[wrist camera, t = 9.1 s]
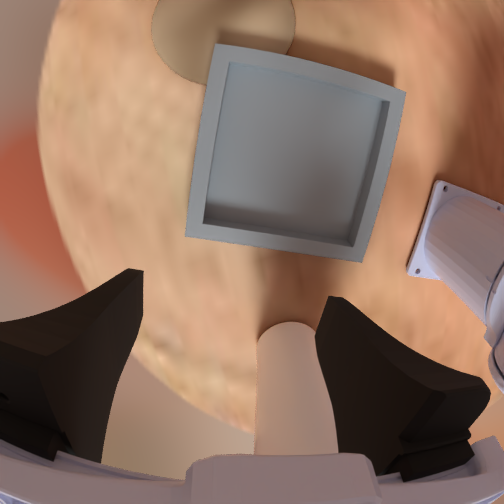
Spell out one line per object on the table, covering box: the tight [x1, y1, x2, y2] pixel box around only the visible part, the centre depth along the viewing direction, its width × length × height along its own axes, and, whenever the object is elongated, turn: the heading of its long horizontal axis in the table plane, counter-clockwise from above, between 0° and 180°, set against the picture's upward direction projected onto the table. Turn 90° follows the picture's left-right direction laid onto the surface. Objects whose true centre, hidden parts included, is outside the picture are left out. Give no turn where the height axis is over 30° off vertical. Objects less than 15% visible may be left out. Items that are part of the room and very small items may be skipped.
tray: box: [185, 43, 406, 263], centre depth 19 cm, size 12×12×2 cm
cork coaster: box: [151, 0, 296, 85], centre depth 16 cm, size 9×9×1 cm
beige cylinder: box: [254, 322, 338, 455], centre depth 19 cm, size 7×7×15 cm
